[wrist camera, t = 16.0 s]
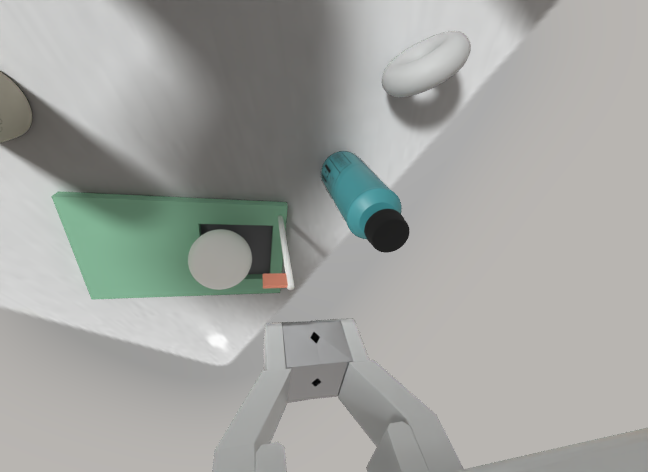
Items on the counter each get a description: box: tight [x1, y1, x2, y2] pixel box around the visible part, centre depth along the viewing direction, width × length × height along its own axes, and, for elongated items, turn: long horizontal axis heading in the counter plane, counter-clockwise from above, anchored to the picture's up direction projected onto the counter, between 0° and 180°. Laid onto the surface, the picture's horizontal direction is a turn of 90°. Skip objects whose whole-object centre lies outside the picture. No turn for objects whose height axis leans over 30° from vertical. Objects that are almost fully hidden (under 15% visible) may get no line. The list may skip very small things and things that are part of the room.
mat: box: [52, 192, 295, 299], centre depth 38 cm, size 30×18×18 cm, turn 82°
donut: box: [382, 31, 471, 97], centre depth 33 cm, size 10×4×10 cm, turn 120°
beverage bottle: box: [321, 151, 409, 252], centre depth 35 cm, size 6×7×20 cm
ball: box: [188, 229, 252, 290], centre depth 42 cm, size 9×9×9 cm
